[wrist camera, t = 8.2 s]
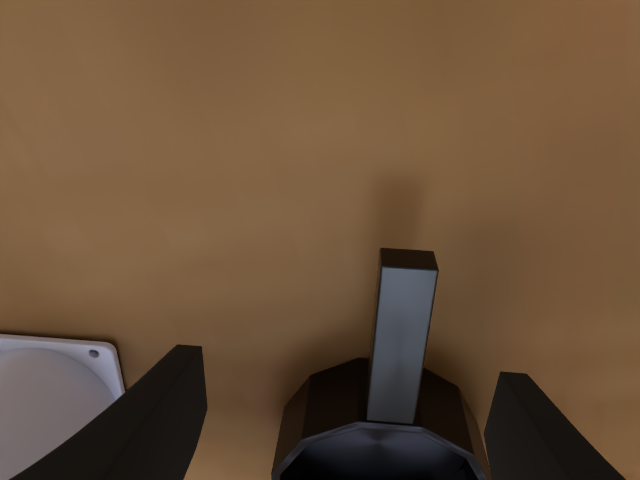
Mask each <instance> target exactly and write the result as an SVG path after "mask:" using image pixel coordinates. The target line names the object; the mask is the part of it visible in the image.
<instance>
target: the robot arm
mask: <svg viewBox="0 0 640 480" xmlns="http://www.w3.org/2000/svg"><path fill="white" fill-rule="evenodd" d="M94 350H96V351H97V352H95V351H94ZM206 412H207V398H206V387H205V376H204V365H203V354H202V346H190V345H176V346H175V347H174V348H173V349H172V350H171V351H169V352H168V353H167V354H166V355H165V356H164V357H163V358H162V359H161V360H160V361H159V362H158V363H157V364H155V365H154V366H153V367H152V368H151V369H150V370H149V371H148V372H147V373H146V374H145V375H144V376H143V377H141V378H140V379H139V380H138V381H137V382H136V383H135V384H134V385H133V386H131V387H130V388H129V389H128V390H127V391H126V392H125V389H124V384H123V380H122V375H121V370H120V365H119V360H118V355H117V351H116V348H115V347H114V346H113V345H112V344H110V343H107V342H99V341H86V340H73V339H60V338H46V337H33V336H20V335H7V334H0V480H183V479H184V477H185V474H186V472H187V469H188V467H189V464H190V462H191V460H192V457H193V455H194V452H195V450H196V447H197V443H198V440H199V437H200V433H201V430H202V426H203V423H204V419H205V415H206ZM484 437H485V443H486V450H487V456H488V462H489V467H490V472H491V477H492V480H626V479H625V478H624V477H623V476H622V475H621V474H620V473H619V472H618V471H617V470H615V469H614V468H613V467H612V466H611V465H610V464H609V463H608V462H607V461H606V460H605V459H604V458H603V456H602V455H601V454H600V453H599V452H598V451H597V450H596V449H595V448H594V447H593V446H592V445H591V444H590V443H589V442H588V441H587V440H586V439H585V438H584V437H583V436H582V435H581V433H580V432H579V431H578V430H577V429H576V428H575V427H574V426H573V425H572V424H571V423H570V421H569V420H568V419H567V418H566V417H565V416H564V415H563V414H562V413H561V411H560V410H559V409H558V408H557V407H556V406H555V405H554V404H553V403H552V401H551V400H550V399H549V398H548V397H547V396H546V395H545V393H544V392H543V391H542V390H541V389H540V388H539V387H538V386H537V384H536V383H535V382H534V381H533V380H532V379H531V378H530V377H529V376H528V375H527V374H524V373H512V372H500V375H499V379H498V383H497V386H496V390H495V394H494V397H493V401H492V405H491V409H490V412H489V416H488V420H487V424H486V427H485V431H484Z"/></svg>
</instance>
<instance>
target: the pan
mask: <svg viewBox="0 0 640 480" xmlns="http://www.w3.org/2000/svg"><path fill="white" fill-rule="evenodd" d="M438 272H439V269H438V266H437V262H436V258H435V255H434V252H433V251H422V250H406V249H390V248H380V251H379V262H378V272H377V283H376V293H375V303H374V314H373V324H372V335H371V345H370V356H369V359H366V358H357V359H354V360H351V361H349V362H346V363H343V364H340V365H337V366H335V367H332V368H329V369H326V370H324V371H321V372H318V373H315V374H313V375H311V376H310V377H309V378H308V379H307V380H306V381H305V383H304V384H303V385H302V386H301V387H300V389H299V390H298V391H297V392H296V394H295V395H294V396H293V397H292V398H291V400H290V401H289V402H288V403H287V404H286V406H285V407H284V411H283V416H282V421H281V427H280V432H279V437H278V442H277V447H276V452H275V457H274V462H273V467H272V473H271V476H272V480H492V477H491V472H490V469H489V465H488V461H487V457H486V454H485V450H484V446H483V442H482V439H481V435H480V431H479V428H478V424H477V422H476V420H475V418H474V416H473V414H472V412H471V410H470V408H469V406H468V405H467V403H466V401H465V399H464V397H463V395H462V393H461V391H460V390H459V388H458V387H457V386H455V385H454V384H452V383H450V382H448V381H446V380H445V379H443V378H441V377H439V376H438V375H436V374H434V373H432V372H430V371H429V370H427V369H425V368H423V365H424V359H425V352H426V346H427V340H428V334H429V328H430V322H431V315H432V309H433V303H434V297H435V291H436V284H437V278H438Z"/></svg>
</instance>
